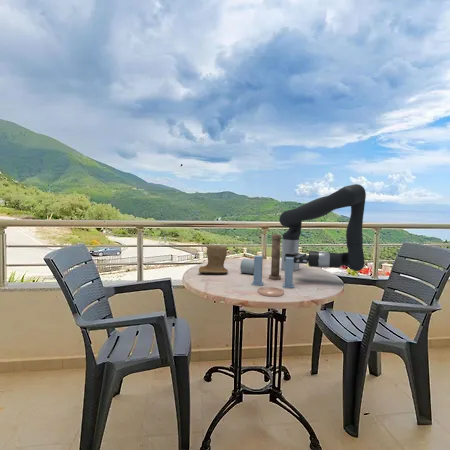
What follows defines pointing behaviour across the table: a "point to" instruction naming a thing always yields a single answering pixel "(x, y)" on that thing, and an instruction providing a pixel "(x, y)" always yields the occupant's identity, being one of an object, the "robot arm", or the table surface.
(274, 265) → the candlestick
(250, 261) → the ceramic mug
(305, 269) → the table surface
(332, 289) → the table surface
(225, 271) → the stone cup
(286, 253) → the robot arm
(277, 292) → the disc
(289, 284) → the blue pillar pair
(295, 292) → the table surface
